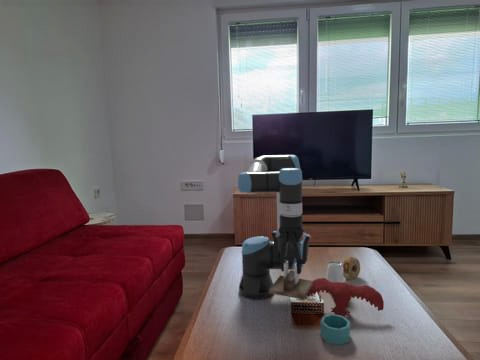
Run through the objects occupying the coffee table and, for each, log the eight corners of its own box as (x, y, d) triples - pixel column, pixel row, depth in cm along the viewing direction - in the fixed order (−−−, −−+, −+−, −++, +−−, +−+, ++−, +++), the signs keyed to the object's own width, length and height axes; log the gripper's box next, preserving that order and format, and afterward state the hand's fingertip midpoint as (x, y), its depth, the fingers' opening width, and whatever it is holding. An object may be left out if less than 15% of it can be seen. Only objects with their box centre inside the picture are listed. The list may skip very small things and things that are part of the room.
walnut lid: (268, 292, 107) (268, 279, 107) (280, 278, 118) (280, 266, 118) (304, 299, 102) (304, 285, 102) (312, 284, 113) (312, 271, 112)
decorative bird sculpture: (382, 333, 113) (384, 291, 121) (382, 327, 106) (384, 283, 114) (304, 316, 126) (310, 279, 133) (299, 309, 119) (306, 271, 126)
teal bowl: (318, 340, 104) (318, 325, 103) (324, 325, 112) (324, 312, 111) (347, 347, 100) (347, 332, 99) (350, 331, 108) (351, 317, 107)
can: (343, 294, 133) (344, 267, 131) (327, 293, 134) (328, 266, 132) (342, 287, 139) (342, 261, 137) (326, 286, 140) (327, 260, 139)
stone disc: (347, 283, 143) (348, 261, 142) (340, 280, 146) (341, 259, 145) (361, 276, 149) (362, 256, 148) (354, 274, 152) (355, 254, 151)
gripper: (264, 215, 107) (265, 281, 110) (312, 219, 100) (312, 290, 103) (272, 210, 114) (273, 273, 117) (317, 213, 107) (317, 280, 110)
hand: (291, 281), depth 110 cm, fingers closed on walnut lid, 3 cm apart
